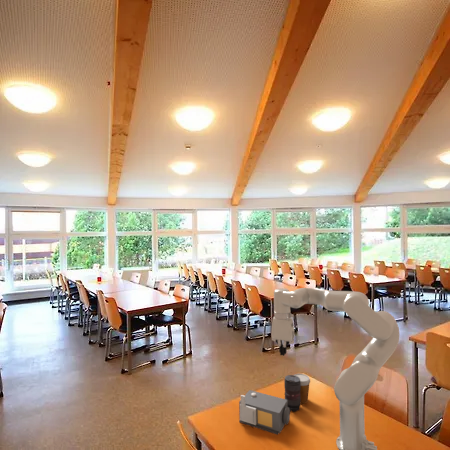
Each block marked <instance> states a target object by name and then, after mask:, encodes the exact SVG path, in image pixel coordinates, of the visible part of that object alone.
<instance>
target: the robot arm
mask: <svg viewBox="0 0 450 450" xmlns="http://www.w3.org/2000/svg"><path fill="white" fill-rule="evenodd" d="M307 304H308V305H319V306H321V307H323V308H325V309H326V310H327V311H332V312H345V313H346V315H348V317H349V318H350V319H351V320H352V321H353V322H354V323H355V324H357V325H358V326H359V327H360V328H361V329H362V330H363V331H364V332H366V333H367V334H368V335H369V336H370V337H371V338H372V339H370V341H369V342H368V343H367V345H366V346H365V347H364V348H363V349H362V350H361V352H359V353H357V355H356V356H355V358H354V359H353V361H352V363H351V365H350V366H349V367H348V368H345V369H343V370H342V371H341V372H340V374H339V375H338V378H337V379H336V381H335V383H334V387H333V389H334V390H333V391H334V392H333V393H334V395H335V396H336V399H337V400H338V401H339V435H338V437H337V438H336V441H335V442H336V444H335V445H336V447H337V448H338V450H378V446H377V445H375V442H374V441H370V440H368V439H367V435H366V434H365V433H366V432H365V394H367V392H368V391H370V389H371V388H372V387H373V386H374V384H375V383H376V381H377V379H378V377H379V373H380V370H381V369H382V367H383V366H384V365H385V364H386V362H387V361H388V360H389V359H390V358H391V356H392V355H393V354H394V353H395V351H396V349H397V347H398V345H399V342H400V336H401V335H400V328H399V327H400V326H399V325H398V322H397V320H396V319H395V317H394V315H392V314H391V313H390V312H388V311H385V310H380V311H375V310H374V309H373V308H372V307H371V306H370V305H369V304H370V301H369V298H368V296H367V295H366V294H365V293H364V292H360V291H354V290H353V291H352V290H351V291H350V290H328V289H324V288H314V287H308V288H307V287H300V288H297V289H295V290H292V291H290V290H289V289H287V288H276V289H274V292H273V312H274V313H273V315H274V316H273V317H272V320H271V321H272V323H271V341H272V342H275V343H276V344H277V345H278V352H279V355H280V356H282V357H283V356H285V355H286V354H287V347H288V345H293V344H294V343H295V340H294V339H295V328H294V327H295V325H294V319H293V318H294V314H292V313H291V309H292V308H293V309H299V308H301V307H303V306H304V305H307Z"/></svg>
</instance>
